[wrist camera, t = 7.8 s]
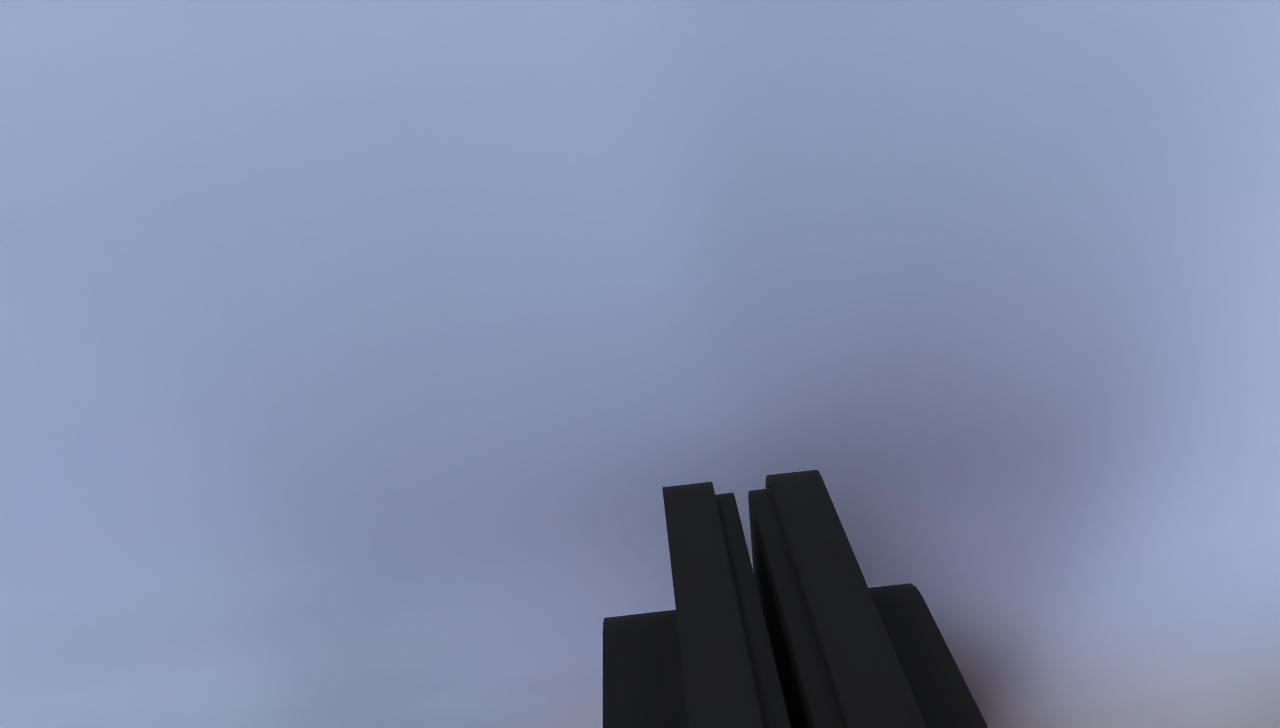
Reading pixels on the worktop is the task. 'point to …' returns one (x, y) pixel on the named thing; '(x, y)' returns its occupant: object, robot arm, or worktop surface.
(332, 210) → the worktop surface
